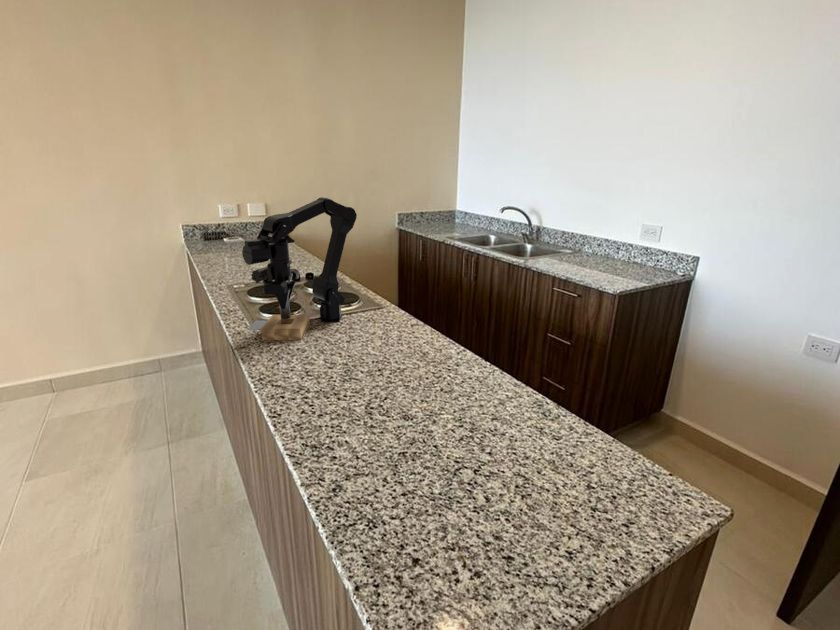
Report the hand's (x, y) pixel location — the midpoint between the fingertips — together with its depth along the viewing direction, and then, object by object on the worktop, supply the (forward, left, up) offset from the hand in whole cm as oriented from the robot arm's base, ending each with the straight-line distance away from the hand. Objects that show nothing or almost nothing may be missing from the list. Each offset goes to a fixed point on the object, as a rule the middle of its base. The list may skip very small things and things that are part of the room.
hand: (284, 307), depth 146 cm
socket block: (0, 0, -9) cm, 9 cm away
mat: (+10, -6, -9) cm, 15 cm away
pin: (0, 0, -4) cm, 4 cm away
